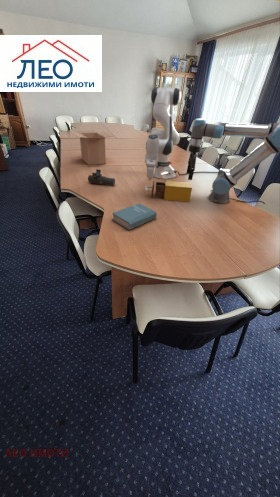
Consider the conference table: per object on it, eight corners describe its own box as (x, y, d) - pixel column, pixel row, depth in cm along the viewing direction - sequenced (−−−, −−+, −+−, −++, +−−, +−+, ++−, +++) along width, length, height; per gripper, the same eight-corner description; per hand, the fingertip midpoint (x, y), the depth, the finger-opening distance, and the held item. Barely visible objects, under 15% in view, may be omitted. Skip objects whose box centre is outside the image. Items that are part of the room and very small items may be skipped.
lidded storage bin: (163, 199, 167) (165, 185, 161) (163, 194, 176) (165, 180, 169) (189, 201, 167) (192, 187, 160) (187, 196, 175) (190, 182, 169)
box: (116, 165, 229) (116, 136, 213) (83, 168, 214) (80, 137, 198) (102, 154, 259) (101, 128, 243) (71, 156, 244) (68, 129, 228)
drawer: (144, 196, 168) (144, 184, 162) (144, 191, 175) (145, 180, 170) (175, 199, 167) (177, 187, 162) (174, 194, 175) (176, 182, 169)
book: (138, 209, 150) (139, 203, 147) (156, 219, 142) (156, 212, 139) (112, 220, 137) (112, 212, 134) (129, 230, 128) (130, 223, 125)
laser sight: (112, 187, 180) (112, 175, 174) (86, 184, 183) (85, 171, 177) (115, 183, 187) (115, 171, 181) (90, 180, 190) (89, 168, 184)
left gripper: (147, 156, 165) (146, 175, 173) (146, 164, 148) (144, 184, 157) (156, 157, 165) (154, 175, 173) (155, 164, 148) (153, 185, 156)
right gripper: (187, 141, 159) (182, 171, 171) (191, 149, 139) (185, 182, 151) (198, 142, 158) (192, 171, 171) (203, 150, 138) (196, 183, 151)
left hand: (149, 179), depth 165 cm, fingers closed
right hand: (189, 176), depth 161 cm, fingers open, 13 cm apart
